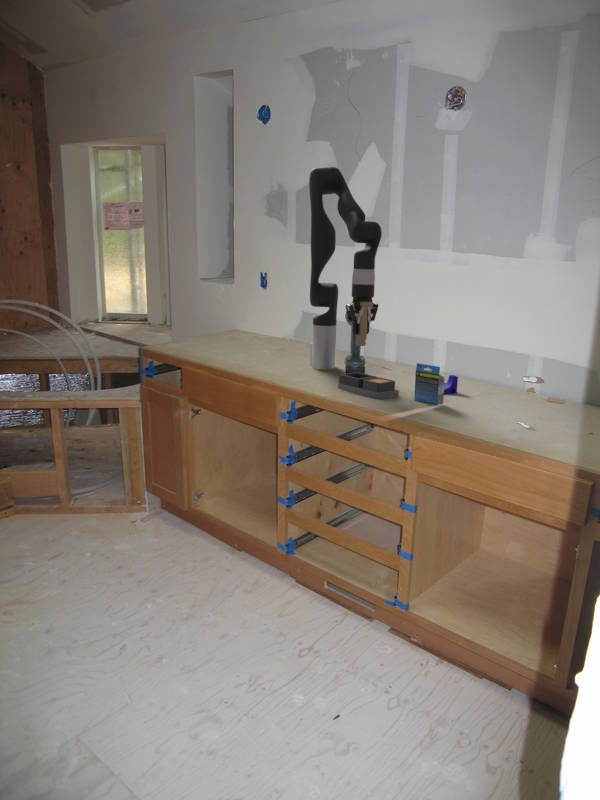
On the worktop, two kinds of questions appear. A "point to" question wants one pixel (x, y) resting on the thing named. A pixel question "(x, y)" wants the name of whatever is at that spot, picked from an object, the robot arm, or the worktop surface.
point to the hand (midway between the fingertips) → (361, 333)
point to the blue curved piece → (451, 385)
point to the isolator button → (378, 380)
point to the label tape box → (429, 384)
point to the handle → (363, 325)
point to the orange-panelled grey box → (367, 385)
